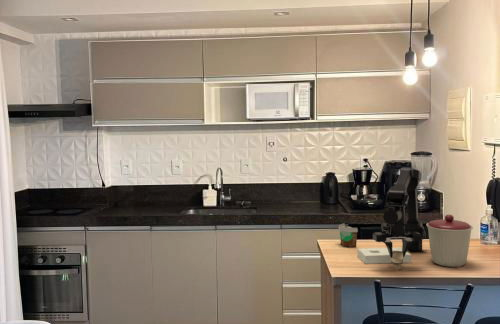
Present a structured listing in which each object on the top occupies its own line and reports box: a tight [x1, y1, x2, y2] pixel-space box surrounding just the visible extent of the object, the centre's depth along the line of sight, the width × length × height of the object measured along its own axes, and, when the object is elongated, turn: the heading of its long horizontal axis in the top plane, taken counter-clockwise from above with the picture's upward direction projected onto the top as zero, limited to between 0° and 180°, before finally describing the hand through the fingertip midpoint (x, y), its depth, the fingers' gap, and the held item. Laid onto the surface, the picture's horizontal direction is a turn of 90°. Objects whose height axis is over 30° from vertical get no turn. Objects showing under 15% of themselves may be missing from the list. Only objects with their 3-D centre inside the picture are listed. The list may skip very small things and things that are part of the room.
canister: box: [425, 214, 474, 268], centre depth 190 cm, size 18×18×21 cm
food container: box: [338, 223, 359, 249], centre depth 224 cm, size 12×6×10 cm, turn 21°
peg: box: [390, 251, 404, 271], centre depth 185 cm, size 5×5×7 cm
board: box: [357, 247, 412, 265], centre depth 199 cm, size 20×12×4 cm, turn 92°
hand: (397, 257), depth 185 cm, fingers closed on peg, 5 cm apart
